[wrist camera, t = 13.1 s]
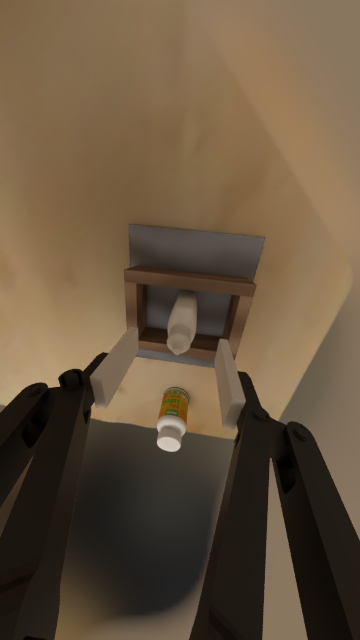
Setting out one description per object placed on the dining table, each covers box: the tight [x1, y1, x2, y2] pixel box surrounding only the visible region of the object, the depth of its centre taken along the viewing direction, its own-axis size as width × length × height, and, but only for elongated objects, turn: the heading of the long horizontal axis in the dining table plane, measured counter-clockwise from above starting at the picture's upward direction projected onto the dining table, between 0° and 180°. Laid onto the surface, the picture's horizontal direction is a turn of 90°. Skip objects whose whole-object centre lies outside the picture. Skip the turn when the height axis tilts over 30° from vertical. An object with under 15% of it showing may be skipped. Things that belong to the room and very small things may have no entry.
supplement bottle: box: [157, 388, 188, 451], centre depth 32 cm, size 5×5×10 cm
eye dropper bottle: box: [167, 291, 197, 355], centre depth 21 cm, size 4×6×12 cm
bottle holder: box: [124, 224, 265, 368], centre depth 25 cm, size 22×18×6 cm
